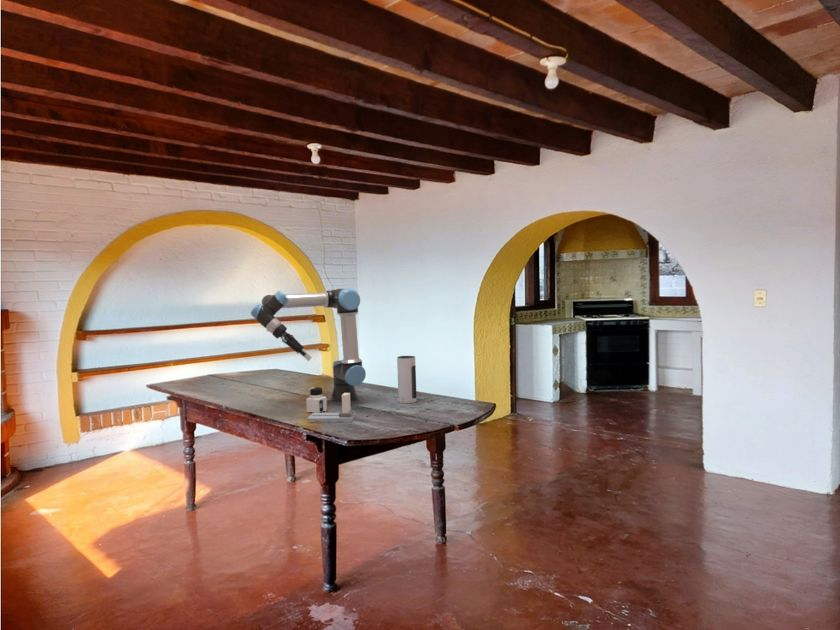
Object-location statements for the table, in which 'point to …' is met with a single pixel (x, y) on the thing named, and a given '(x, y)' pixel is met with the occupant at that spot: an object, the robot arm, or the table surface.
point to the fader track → (329, 417)
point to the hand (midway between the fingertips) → (310, 359)
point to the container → (316, 401)
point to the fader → (346, 406)
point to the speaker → (406, 379)
